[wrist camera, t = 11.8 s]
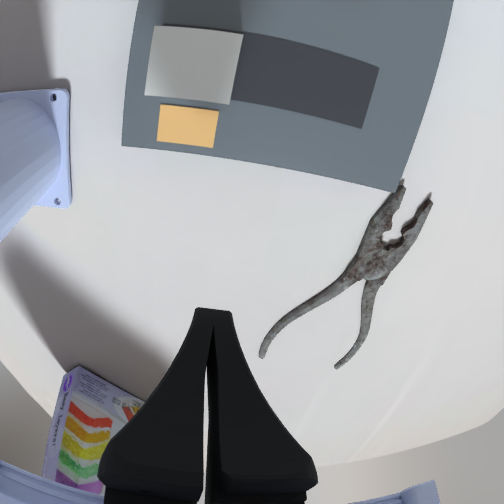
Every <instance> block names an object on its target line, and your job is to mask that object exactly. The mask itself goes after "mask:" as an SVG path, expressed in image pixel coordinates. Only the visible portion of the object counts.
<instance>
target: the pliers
mask: <svg viewBox="0 0 504 504" xmlns="http://www.w3.org/2000/svg"><path fill="white" fill-rule="evenodd" d="M405 191H406V188H405V187H404V186H403V185H400V186H399V187H398V188H397V190H396V192H395V193H393V194H392V196H391V197H390V198H389V199H388V200H387V201H386V203H385V204H384V205H383V206H382V207H381V209H380V210H379V211H378V212H377V213H376V214H375V216H374V217H373V218H372V219H371V220H370V222H369V225H368V227H367V230H366V232H365V235H364V237H363V240H362V242H361V245H360V247H359V249H358V252H357V254H356V257H355V259H354V260H353V261H352V263H351V264H350V265H349V267H348V268H347V269H346V270H345V272H344V273H343V274H342V275H341V277H340V278H339V279H338V280H337V281H335V282H334V283H333V284H332V285H331V286H329V287H328V288H326V289H325V290H324V291H322V292H321V293H319V294H318V295H316V296H315V297H313V298H312V299H310V300H308V301H307V302H305V303H304V304H302V305H301V306H299V307H297V308H296V309H294V310H293V311H291V312H290V313H289V314H287V315H286V316H284V317H283V318H282V319H281V320H280V321H279V322H278V323H277V324H276V325H275V326H274V327H273V328H272V329H271V330H270V332H269V333H268V335H267V336H266V337H265V339H264V341H263V343H262V345H261V348H260V351H259V357H260V358H261V359H263V358H264V357H265V354H266V352H267V349H268V347H269V345H270V343H271V341H272V340H273V339H274V338H275V336H276V335H277V334H278V333H279V332H280V331H281V330H282V329H283V328H284V327H285V326H287V325H288V324H289V323H290V322H292V321H293V320H295V319H297V318H298V317H300V316H302V315H304V314H305V313H307V312H309V311H311V310H312V309H314V308H316V307H318V306H320V305H321V304H323V303H325V302H327V301H329V300H330V299H332V298H334V297H335V296H337V295H339V294H340V293H341V292H343V291H344V290H345V289H347V288H348V287H350V286H351V285H352V284H354V283H355V282H357V281H360V280H362V279H366V283H365V287H364V290H363V295H362V302H361V327H360V333H359V336H358V339H357V341H356V342H355V344H354V346H353V347H352V348H351V350H350V351H349V352H348V353H347V354H346V356H345V357H344V358H342V359H341V360H340V361H339V362H338V363H337V364H336V365H334V367H335V369H338V368H340V367H341V366H343V365H344V364H345V363H346V362H348V361H349V360H350V359H351V358H352V357H353V356H354V354H355V353H356V352H357V351H358V350H359V348H360V347H361V345H362V344H363V342H364V341H365V339H366V337H367V335H368V331H369V328H370V323H371V317H372V310H373V304H374V300H375V296H376V293H377V291H378V289H379V287H380V286H381V285H383V284H384V282H385V280H386V279H387V277H388V275H389V274H390V272H391V271H392V270H393V269H394V268H395V267H396V266H397V264H398V263H399V262H400V261H401V260H402V258H403V257H404V256H405V254H406V253H407V251H408V250H409V249H410V247H411V246H412V245H413V243H414V242H415V240H416V239H417V237H418V235H419V233H420V231H421V229H422V226H423V224H424V222H425V220H426V218H427V216H428V214H429V212H430V209H431V207H432V205H433V202H432V201H431V200H430V199H429V198H428V199H427V200H426V202H425V203H424V204H423V205H422V207H421V208H420V209H419V210H418V211H417V212H416V214H415V217H414V220H413V221H412V223H411V224H410V225H408V226H405V227H404V228H403V229H402V230H401V234H402V238H401V240H400V242H398V243H396V244H395V245H394V244H389V245H388V246H387V247H384V244H383V243H382V241H380V236H381V235H382V234H383V232H385V231H389V230H391V227H392V220H391V219H392V216H393V214H394V213H395V212H396V210H398V209H399V207H400V204H401V201H402V199H403V196H404V193H405Z"/></svg>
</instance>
